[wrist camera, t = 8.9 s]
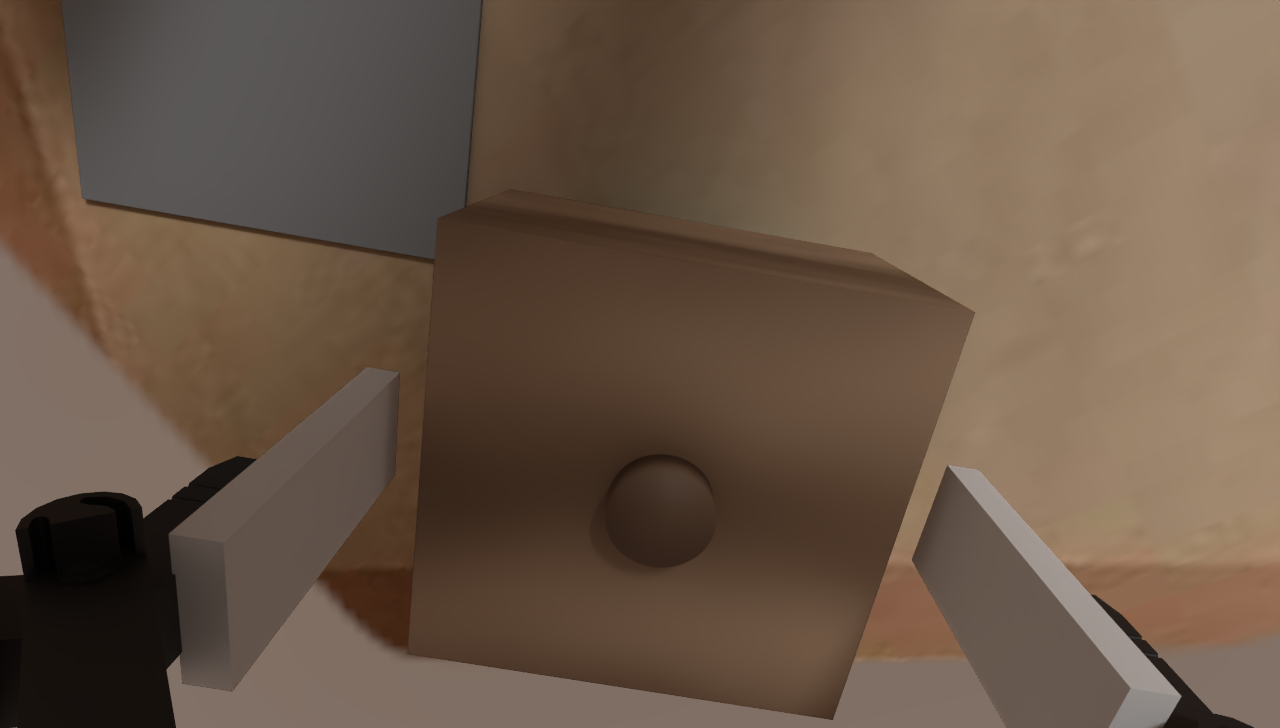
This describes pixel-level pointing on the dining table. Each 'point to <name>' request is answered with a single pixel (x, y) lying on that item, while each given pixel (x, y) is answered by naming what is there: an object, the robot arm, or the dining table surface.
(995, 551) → the robot arm
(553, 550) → the lid
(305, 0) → the mat
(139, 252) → the dining table surface
